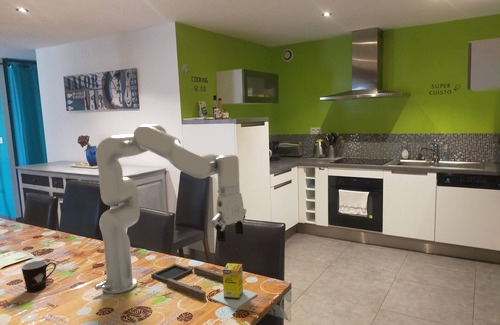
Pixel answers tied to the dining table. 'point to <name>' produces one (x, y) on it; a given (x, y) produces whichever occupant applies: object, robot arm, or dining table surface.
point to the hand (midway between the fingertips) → (230, 237)
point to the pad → (234, 302)
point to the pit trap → (171, 273)
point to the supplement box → (232, 281)
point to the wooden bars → (192, 290)
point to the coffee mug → (35, 275)
